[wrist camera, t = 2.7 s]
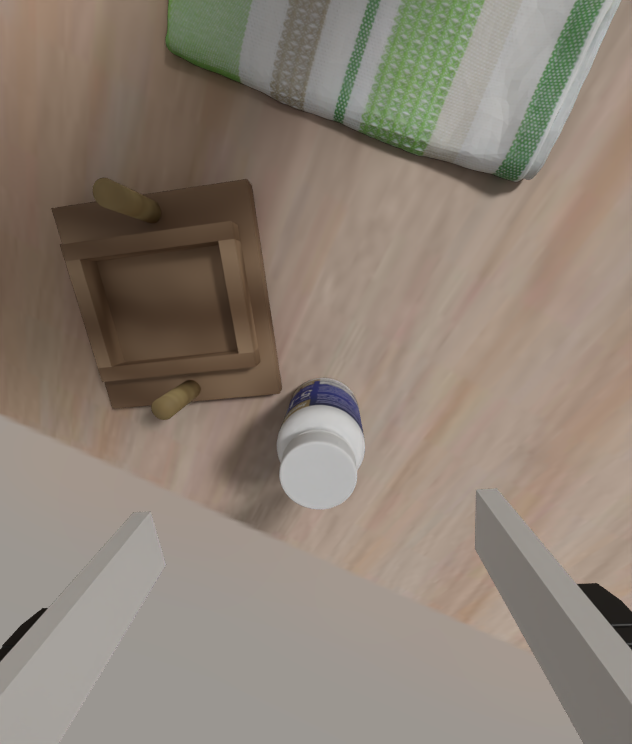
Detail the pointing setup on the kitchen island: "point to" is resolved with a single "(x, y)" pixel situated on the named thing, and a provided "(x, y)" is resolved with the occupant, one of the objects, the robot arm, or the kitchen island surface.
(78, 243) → the cradle
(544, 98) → the dish towel
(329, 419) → the pill bottle
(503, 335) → the kitchen island surface
